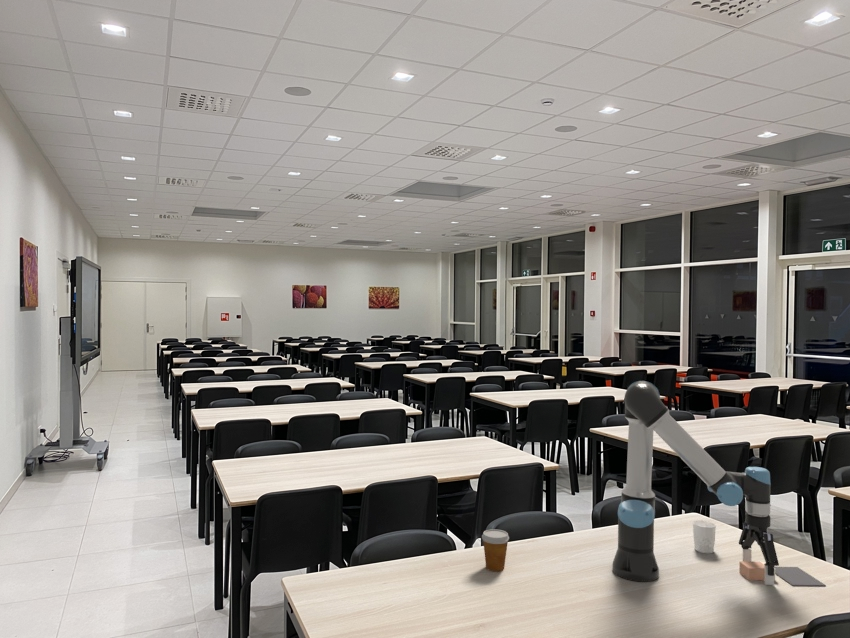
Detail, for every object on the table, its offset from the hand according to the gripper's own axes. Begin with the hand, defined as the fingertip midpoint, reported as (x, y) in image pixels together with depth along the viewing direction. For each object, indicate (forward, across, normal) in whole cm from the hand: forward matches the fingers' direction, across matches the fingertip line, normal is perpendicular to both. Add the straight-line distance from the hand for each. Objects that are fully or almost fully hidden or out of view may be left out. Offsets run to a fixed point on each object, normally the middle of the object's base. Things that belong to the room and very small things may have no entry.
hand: (757, 576), depth 208 cm
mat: (0, 0, -13) cm, 13 cm away
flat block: (0, 0, 0) cm, 0 cm away
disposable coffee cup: (0, +5, +89) cm, 89 cm away
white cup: (0, +24, +7) cm, 25 cm away
